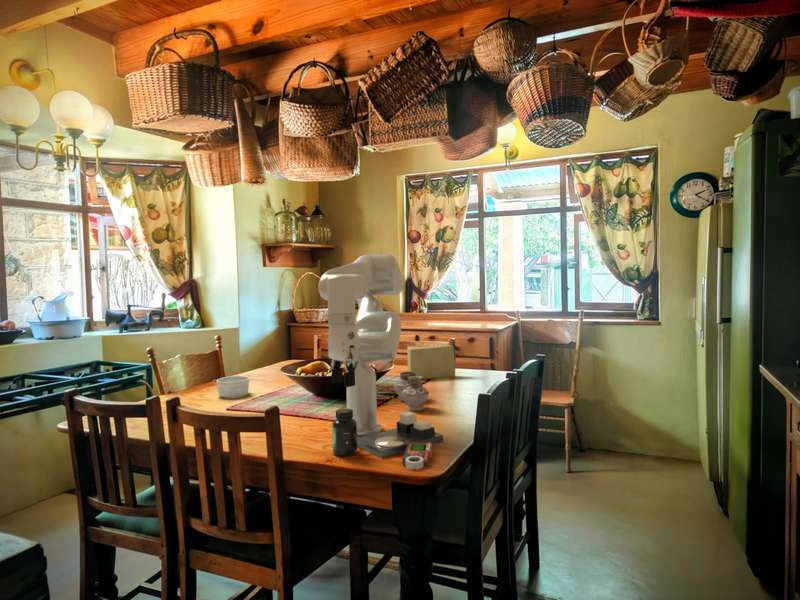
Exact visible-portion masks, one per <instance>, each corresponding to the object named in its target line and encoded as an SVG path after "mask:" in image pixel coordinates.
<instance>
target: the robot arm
mask: <svg viewBox="0 0 800 600" xmlns="http://www.w3.org/2000/svg"><path fill="white" fill-rule="evenodd" d="M402 274H403V273H402V272H401V269H400V266H399V263H398V261H397V259H396V258H395V256H393V255H392V254H389V253H384V254H383V253H382V254H381V253H379V254H377V253H375V254H371V253H370V254H364V255H361V256H359V257H357V259H355V260H354V261H353V262H351V263H348V264H345V265H342V266H339V267H334V268H331V269H329V270H327V271H325V272H324V273H323V274H322V275H321V277H320V279H319V282H318V287H317V288H318V293H319V296H320V297H321V298H322V299H323V300H325V301H327V319H328V320H327V323H328V325H327V326H328V332H327V333H328V336H327V338H328V339H327V349H328V350H327V351H328V353H327V356H328V358H329V363H330V369H331V384H332V383H333V384H337V383H342V382H343V386H344V388H346V409H352V410H353V419H354V420H355V421H356V422H357V436H367V435H371V434H375V433H379V432H382V430H383V424H382V423H380V422H378V410H377V409H378V403H377V374H376V371H375V369H374V368H373V367H372V365H371V364H370V363H371V362H376V363H377V362H381V363H382V362H383V363H384V362H385V363H387V362H389V363H390V362H392V361H394V359H396V357H397V355H398V351H399V346H400V340H401V336H402V319H401V317H400V314H398V313H397V312H395V311H390V310H387V311H386V310H385V311H384V307H383V305H382V303H381V302H380V301H379V300H378V299H377V298H376V297H375V296H397V295H400V294H401V292H402V291H403V289H404V278H403V275H402ZM356 302H357V305H358V309H357V313H356ZM342 365H343V367H342ZM343 368H344V369H343ZM343 370H344V371H345V372H343Z"/></svg>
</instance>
